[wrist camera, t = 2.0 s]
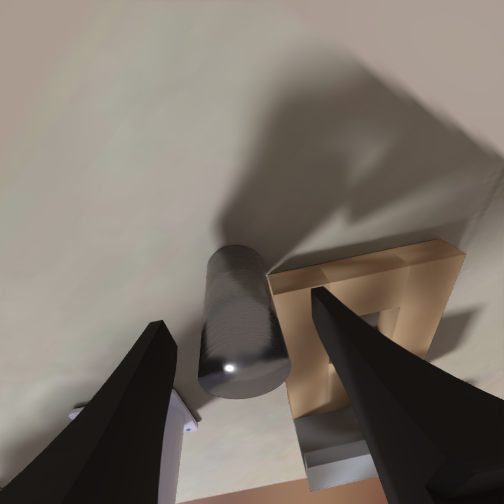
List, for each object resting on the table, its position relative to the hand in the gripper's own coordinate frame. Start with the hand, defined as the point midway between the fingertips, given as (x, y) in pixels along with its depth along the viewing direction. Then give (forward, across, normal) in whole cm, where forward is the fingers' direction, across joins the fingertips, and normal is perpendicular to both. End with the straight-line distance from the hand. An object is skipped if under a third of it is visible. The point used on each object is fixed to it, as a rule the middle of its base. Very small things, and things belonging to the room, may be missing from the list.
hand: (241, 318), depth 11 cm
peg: (+4, 0, 0) cm, 4 cm away
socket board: (+4, -8, +10) cm, 13 cm away
